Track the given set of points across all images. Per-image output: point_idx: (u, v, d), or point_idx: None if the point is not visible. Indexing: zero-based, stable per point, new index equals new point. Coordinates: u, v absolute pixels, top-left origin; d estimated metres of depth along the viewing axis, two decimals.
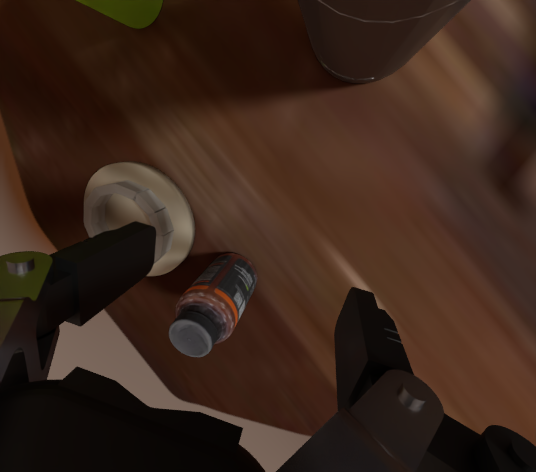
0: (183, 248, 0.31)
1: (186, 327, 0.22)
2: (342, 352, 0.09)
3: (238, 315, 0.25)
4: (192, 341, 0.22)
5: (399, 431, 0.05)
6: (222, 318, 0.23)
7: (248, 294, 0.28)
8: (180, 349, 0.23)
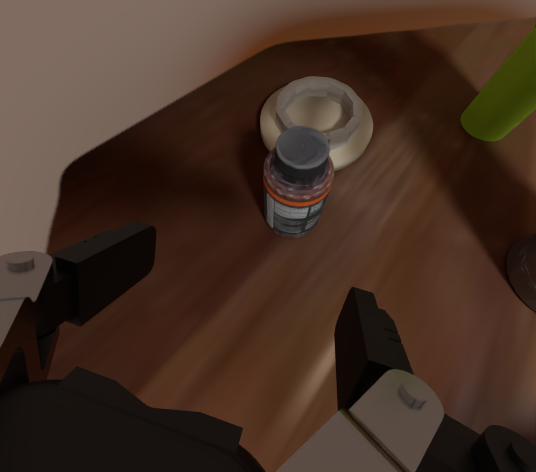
0: None
1: (319, 141, 0.19)
2: (342, 352, 0.09)
3: (304, 207, 0.22)
4: (302, 148, 0.19)
5: (398, 431, 0.05)
6: (317, 184, 0.21)
7: (302, 223, 0.25)
8: (281, 137, 0.20)
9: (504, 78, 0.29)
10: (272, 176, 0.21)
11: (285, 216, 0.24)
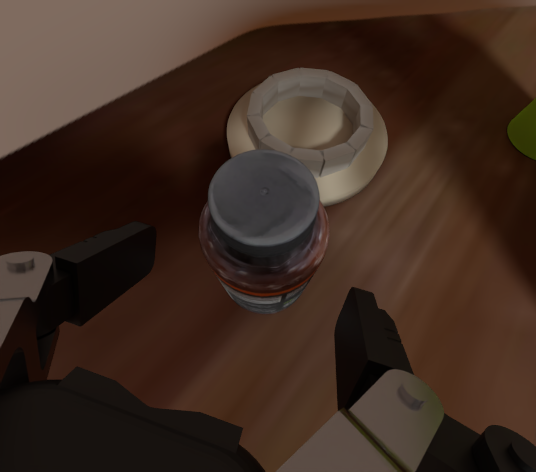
0: None
1: (298, 183, 0.09)
2: (342, 352, 0.09)
3: (273, 296, 0.12)
4: (263, 199, 0.09)
5: (398, 430, 0.05)
6: (296, 263, 0.11)
7: (275, 306, 0.15)
8: (222, 174, 0.10)
9: None
10: (211, 243, 0.11)
11: (244, 299, 0.14)
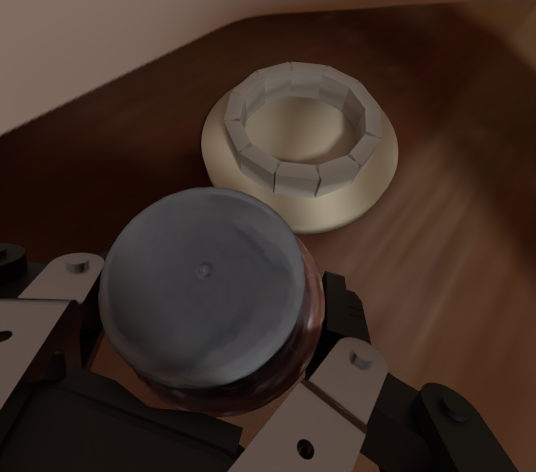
0: (282, 216, 0.17)
1: (268, 254, 0.05)
2: None
3: None
4: (200, 286, 0.05)
5: (352, 390, 0.05)
6: (268, 375, 0.06)
7: None
8: (130, 236, 0.05)
9: None
10: None
11: None
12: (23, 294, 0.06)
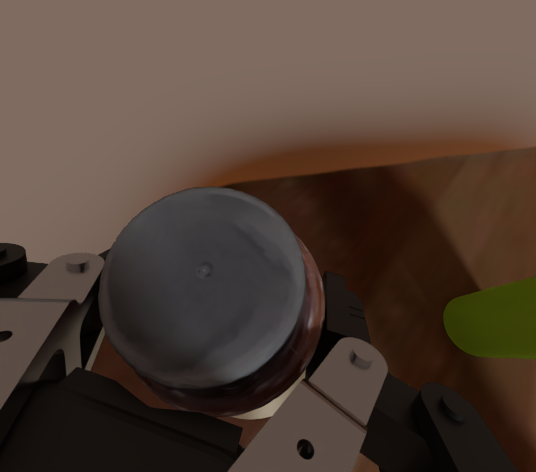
0: None
1: (268, 254, 0.05)
2: None
3: None
4: (200, 287, 0.05)
5: (352, 390, 0.05)
6: (268, 375, 0.06)
7: None
8: (130, 236, 0.05)
9: (498, 322, 0.21)
10: None
11: None
12: (22, 294, 0.06)
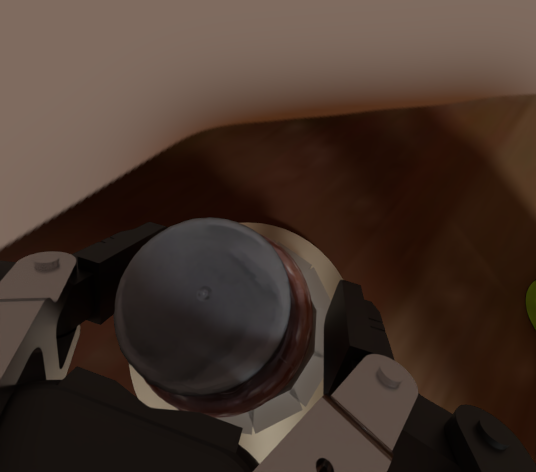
0: None
1: (258, 280, 0.06)
2: (329, 341, 0.09)
3: None
4: (200, 308, 0.06)
5: (377, 411, 0.05)
6: (260, 382, 0.07)
7: None
8: (140, 262, 0.06)
9: None
10: None
11: None
12: None
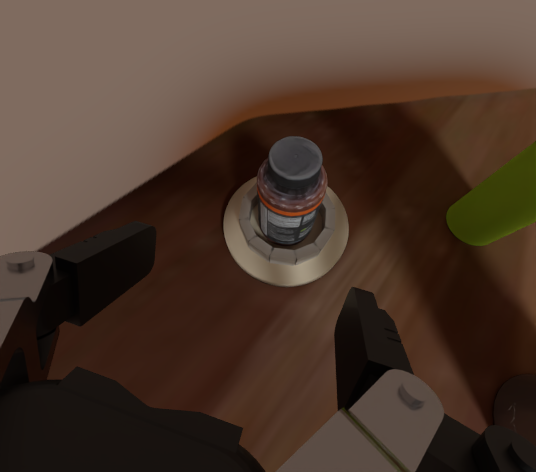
0: (274, 278, 0.27)
1: (312, 152, 0.20)
2: (342, 352, 0.09)
3: (297, 216, 0.22)
4: (295, 159, 0.19)
5: (398, 430, 0.05)
6: (310, 194, 0.21)
7: (295, 232, 0.25)
8: (275, 148, 0.20)
9: (492, 195, 0.26)
10: (265, 185, 0.21)
11: (278, 225, 0.24)
12: None
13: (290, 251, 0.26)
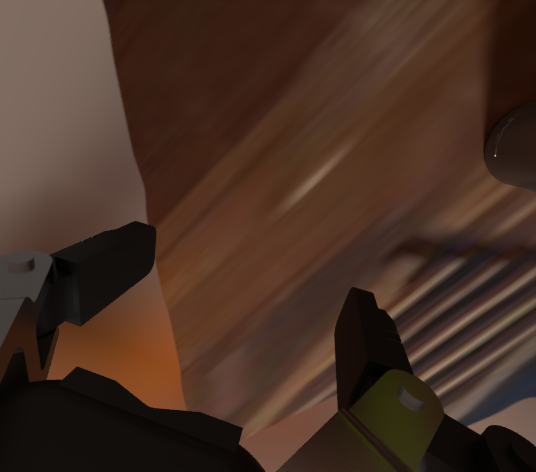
0: None
1: None
2: (342, 352, 0.09)
3: None
4: None
5: (399, 431, 0.05)
6: None
7: None
8: None
9: None
10: None
11: None
12: None
13: None
